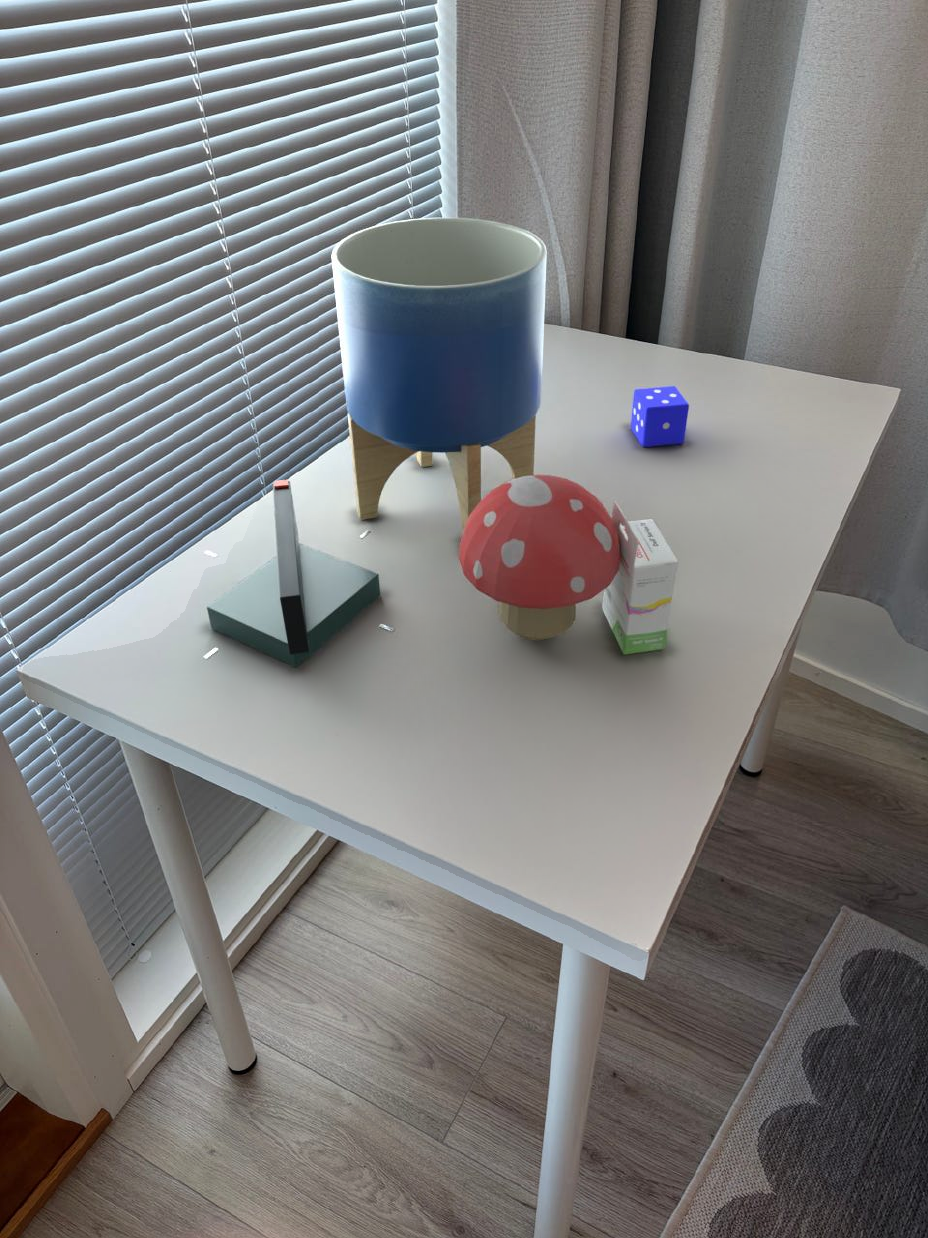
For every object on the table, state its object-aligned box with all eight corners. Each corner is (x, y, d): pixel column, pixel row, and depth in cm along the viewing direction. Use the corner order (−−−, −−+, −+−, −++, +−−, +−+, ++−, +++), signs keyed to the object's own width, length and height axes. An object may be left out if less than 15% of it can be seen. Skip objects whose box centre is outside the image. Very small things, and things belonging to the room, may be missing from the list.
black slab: (309, 652, 79) (299, 592, 75) (289, 655, 78) (279, 595, 75) (298, 533, 92) (289, 478, 89) (281, 535, 92) (272, 479, 88)
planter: (339, 472, 106) (312, 229, 90) (501, 445, 111) (504, 208, 94) (380, 568, 92) (357, 299, 76) (564, 532, 96) (581, 270, 80)
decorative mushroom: (441, 605, 87) (434, 461, 78) (574, 574, 91) (583, 433, 81) (491, 700, 78) (491, 548, 68) (639, 662, 81) (658, 512, 71)
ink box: (667, 650, 82) (685, 537, 75) (622, 656, 81) (636, 543, 74) (641, 602, 87) (656, 492, 80) (600, 607, 87) (610, 497, 79)
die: (642, 447, 110) (647, 408, 107) (629, 427, 114) (634, 388, 110) (684, 443, 110) (689, 404, 107) (670, 424, 114) (675, 385, 111)
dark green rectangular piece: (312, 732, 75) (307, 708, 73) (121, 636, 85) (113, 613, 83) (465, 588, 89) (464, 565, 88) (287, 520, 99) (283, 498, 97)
